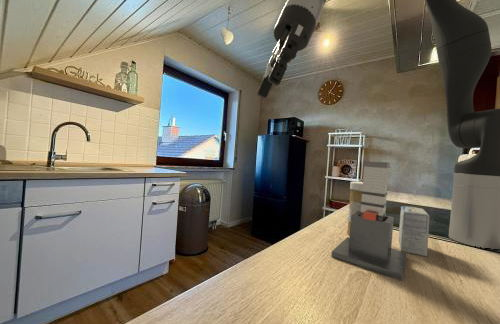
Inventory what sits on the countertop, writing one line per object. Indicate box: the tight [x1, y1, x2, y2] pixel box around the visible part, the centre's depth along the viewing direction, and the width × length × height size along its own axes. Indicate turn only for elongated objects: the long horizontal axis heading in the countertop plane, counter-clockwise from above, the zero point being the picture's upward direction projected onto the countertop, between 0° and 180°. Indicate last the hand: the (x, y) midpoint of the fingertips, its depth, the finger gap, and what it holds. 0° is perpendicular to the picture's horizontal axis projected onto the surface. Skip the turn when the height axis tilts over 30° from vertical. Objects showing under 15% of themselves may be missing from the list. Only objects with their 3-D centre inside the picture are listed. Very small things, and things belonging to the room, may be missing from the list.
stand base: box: [331, 211, 408, 281], centre depth 41 cm, size 11×11×9 cm
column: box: [360, 160, 391, 221], centre depth 41 cm, size 4×4×17 cm
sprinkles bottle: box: [346, 181, 363, 236], centre depth 53 cm, size 5×5×14 cm
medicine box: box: [398, 205, 430, 257], centre depth 47 cm, size 8×4×9 cm, turn 148°
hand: (266, 90), depth 42 cm, fingers open, 8 cm apart
